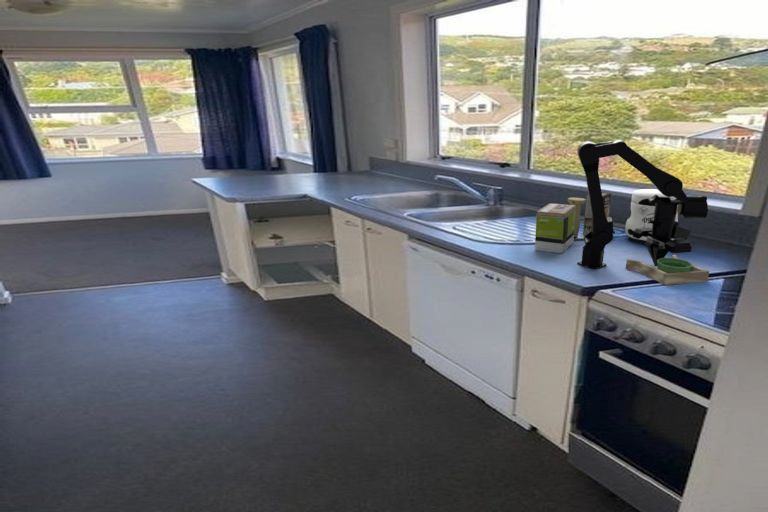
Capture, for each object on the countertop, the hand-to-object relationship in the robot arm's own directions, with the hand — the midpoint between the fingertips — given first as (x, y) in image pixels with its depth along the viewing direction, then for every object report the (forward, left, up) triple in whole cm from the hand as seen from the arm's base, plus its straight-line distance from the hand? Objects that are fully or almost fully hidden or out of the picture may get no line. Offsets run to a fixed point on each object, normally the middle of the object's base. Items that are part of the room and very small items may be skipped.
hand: (656, 266), depth 148 cm
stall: (-1, -4, -1) cm, 5 cm away
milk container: (+28, +21, -1) cm, 35 cm away
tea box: (-7, +35, -1) cm, 35 cm away
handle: (+9, +40, -1) cm, 41 cm away
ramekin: (-2, -6, -1) cm, 7 cm away
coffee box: (+19, +38, -1) cm, 42 cm away
